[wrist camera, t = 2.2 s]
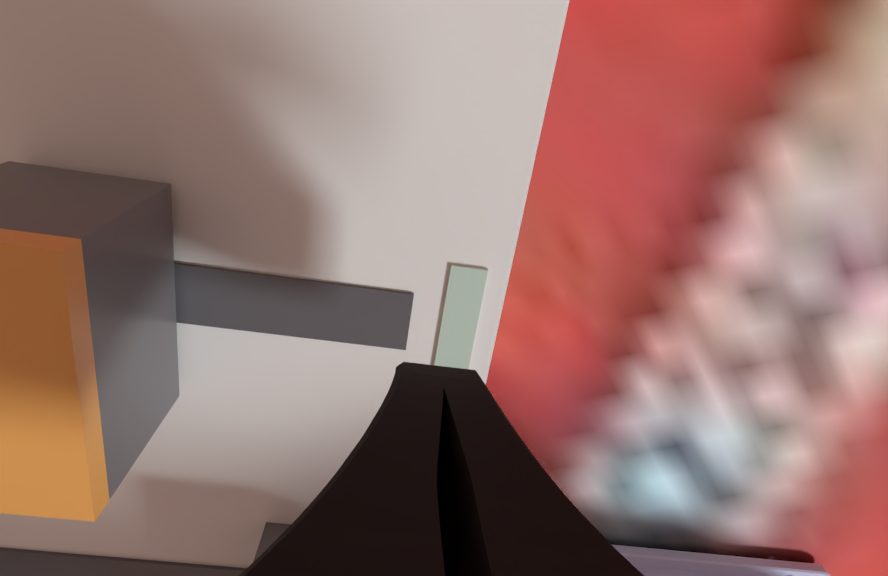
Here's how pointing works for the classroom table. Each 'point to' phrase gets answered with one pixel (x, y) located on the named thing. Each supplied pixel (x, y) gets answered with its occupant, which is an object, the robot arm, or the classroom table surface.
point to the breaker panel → (282, 231)
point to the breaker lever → (81, 334)
